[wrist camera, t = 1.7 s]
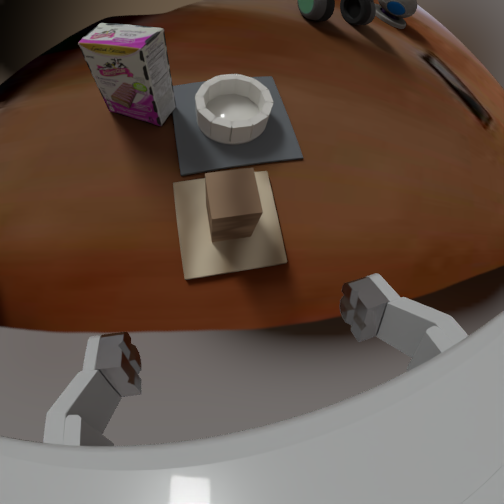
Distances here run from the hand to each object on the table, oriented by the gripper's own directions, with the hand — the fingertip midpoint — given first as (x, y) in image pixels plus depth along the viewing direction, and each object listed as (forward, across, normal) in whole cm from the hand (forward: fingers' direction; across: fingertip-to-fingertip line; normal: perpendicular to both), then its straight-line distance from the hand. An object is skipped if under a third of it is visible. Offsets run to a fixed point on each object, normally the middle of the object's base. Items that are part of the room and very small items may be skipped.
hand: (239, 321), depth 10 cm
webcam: (+72, -67, -34) cm, 104 cm away
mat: (+38, -7, -2) cm, 39 cm away
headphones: (+64, -40, -26) cm, 80 cm away
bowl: (+38, -7, -2) cm, 39 cm away
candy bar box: (+42, +7, -6) cm, 43 cm away
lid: (+27, -3, +10) cm, 29 cm away
